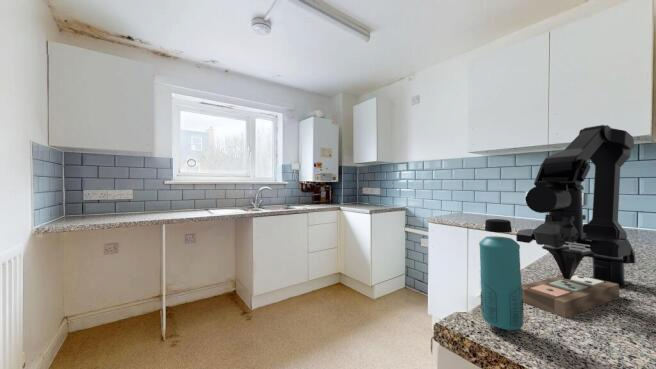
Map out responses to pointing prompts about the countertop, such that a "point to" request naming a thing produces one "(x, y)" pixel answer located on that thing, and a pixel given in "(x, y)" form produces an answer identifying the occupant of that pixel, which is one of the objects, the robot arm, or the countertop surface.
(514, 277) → the beverage bottle
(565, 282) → the three dot button
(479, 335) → the countertop surface
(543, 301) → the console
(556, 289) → the one dot button
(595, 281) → the two dot button
